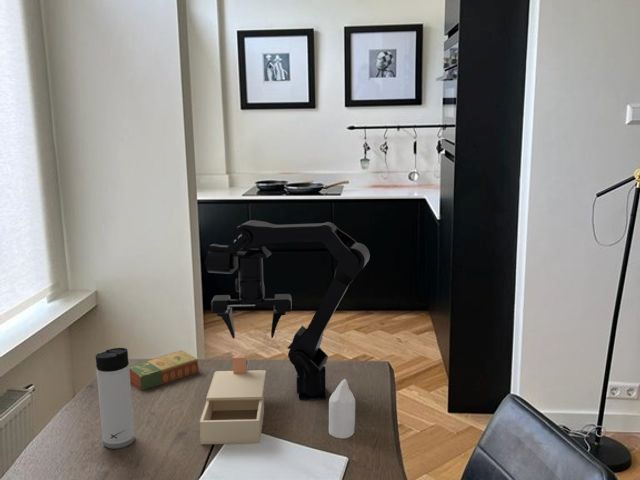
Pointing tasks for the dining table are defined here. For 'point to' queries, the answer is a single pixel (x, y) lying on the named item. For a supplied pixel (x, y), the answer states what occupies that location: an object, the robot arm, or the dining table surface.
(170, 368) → the carton
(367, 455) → the dining table surface
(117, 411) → the travel mug
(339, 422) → the white pointed cylinder
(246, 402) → the kraft box
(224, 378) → the lid panel
